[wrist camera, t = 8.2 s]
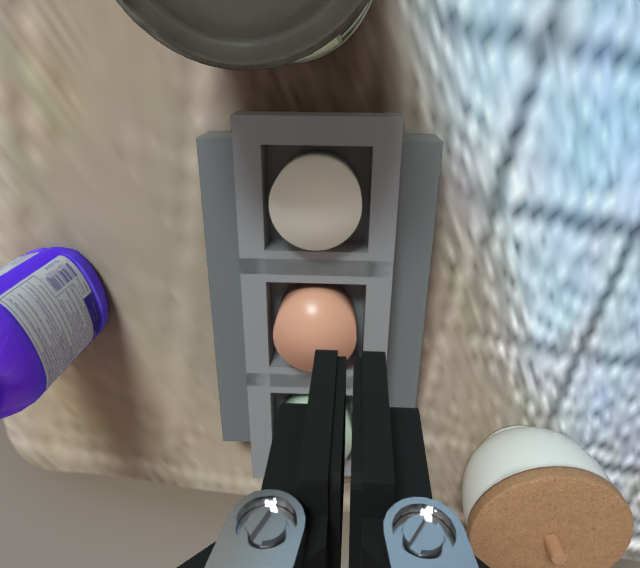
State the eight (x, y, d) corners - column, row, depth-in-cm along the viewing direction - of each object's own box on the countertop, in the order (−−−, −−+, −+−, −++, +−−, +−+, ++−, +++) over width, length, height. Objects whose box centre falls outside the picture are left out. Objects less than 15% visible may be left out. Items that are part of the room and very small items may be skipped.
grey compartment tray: (437, 108, 31) (453, 117, 26) (405, 436, 41) (412, 484, 36) (207, 105, 31) (183, 114, 27) (232, 429, 41) (218, 476, 37)
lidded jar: (587, 493, 42) (647, 604, 34) (458, 511, 44) (484, 621, 35) (582, 390, 38) (649, 485, 30) (439, 413, 40) (464, 511, 31)
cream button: (362, 150, 29) (364, 159, 26) (359, 234, 31) (360, 251, 28) (274, 148, 29) (266, 158, 26) (276, 232, 31) (270, 249, 28)
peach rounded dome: (357, 279, 32) (358, 300, 29) (354, 348, 34) (355, 373, 31) (278, 277, 32) (271, 298, 30) (280, 345, 34) (274, 370, 32)
